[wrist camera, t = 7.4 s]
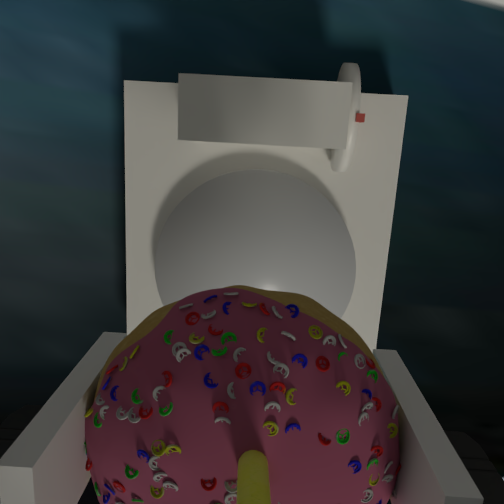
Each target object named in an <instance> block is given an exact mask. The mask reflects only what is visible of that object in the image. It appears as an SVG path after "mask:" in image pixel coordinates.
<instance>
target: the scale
mask: <svg viewBox="0 0 504 504" xmlns="http://www.w3.org/2000/svg"><path fill="white" fill-rule="evenodd" d="M407 102H408V96H405V95H387V94H368V93H361V76H360V69H359V66H358V64H357V63H343V64H342V66H341V69H340V71H339V75H338V79H337V82H334V81H316V80H297V79H278V78H260V77H241V76H223V75H204V74H186V73H179V78H178V83H165V82H147V81H129V80H124V127H125V210H126V293H127V335H128V334H130V333H131V332H132V331H133V330H134V329H135V328H136V327H137V326H138V325H139V324H140V323H141V322H142V321H143V320H144V319H145V318H146V317H147V316H149V315H150V314H151V313H153V312H154V311H156V310H157V309H159V308H161V307H163V306H165V305H168V304H171V303H173V302H176V301H179V300H181V299H183V298H185V297H187V296H189V295H191V294H194V293H197V292H201V291H205V290H210V289H218V288H224V287H228V286H234V285H245V286H250V287H254V288H258V289H264V290H271V291H282V292H291V293H298V294H302V295H305V296H308V297H310V298H312V299H314V300H315V301H317V302H318V303H320V304H321V305H322V306H324V307H325V308H326V309H328V310H329V311H330V312H332V313H333V314H335V315H336V316H337V317H339V318H340V319H342V320H343V321H345V322H346V323H347V324H349V325H350V326H351V327H352V328H353V329H354V330H355V331H356V332H357V333H358V334H359V335H360V337H361V338H362V339H363V340H364V342H365V343H366V344H367V346H368V347H369V349H370V350H371V352H372V353H373V349H376V343H377V335H378V327H379V320H380V312H381V304H382V296H383V289H384V281H385V273H386V265H387V257H388V250H389V242H390V234H391V226H392V219H393V211H394V203H395V195H396V188H397V180H398V172H399V164H400V157H401V149H402V141H403V133H404V126H405V118H406V110H407Z"/></svg>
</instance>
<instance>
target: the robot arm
mask: <svg viewBox="0 0 504 504" xmlns="http://www.w3.org/2000/svg"><path fill="white" fill-rule="evenodd" d="M125 337H126V333H113V332H104V333H103V334H102V335H101V336H100V337H99V339H98V340H97V341H96V342H95V344H94V345H93V346H92V347H91V348H90V350H89V351H88V352H87V353H86V355H85V356H84V357H83V358H82V359H81V361H80V362H79V363H78V364H77V366H76V367H75V368H74V369H73V370H72V372H71V373H70V374H69V375H68V377H67V378H66V379H65V380H64V381H63V383H62V384H61V385H60V386H59V388H58V389H57V390H56V391H55V393H54V394H53V395H52V396H51V397H50V399H49V400H48V401H47V402H46V404H45V405H44V406H42V405H25V406H24V407H22V408H20V409H18V410H17V411H15V412H13V413H12V414H10V415H9V416H8V417H7V418H6V419H5V420H4V421H3V423H2V424H1V425H0V504H77V503H78V501H79V499H80V497H81V495H82V493H83V491H84V489H85V487H86V485H87V483H88V481H89V479H90V477H91V473H90V470H89V471H86V469H85V465H86V461H87V455H86V447H85V446H86V445H85V444H84V442H85V417H84V415H85V413H86V411H87V410H88V409H89V408H90V407H91V406H92V405H93V403H94V398H95V393H96V389H97V385H98V381H99V378H100V375H101V373H102V370H103V368H104V365H105V363H106V361H107V359H108V358H109V356H110V354H111V353H112V351H113V350H114V349H115V347H116V346H117V345H118V344H119V343H120V342H121V341H122V340H123V339H124V338H125ZM373 355H374V357H375V359H376V360H377V362H378V364H379V366H380V368H381V370H382V373H383V375H384V377H385V380H386V381H387V383H388V384H389V386H390V388H391V389H392V392H393V394H394V397H395V400H396V405H399V410H398V423H399V452H400V464H401V468H400V470H399V472H398V475H397V480H396V484H395V487H394V489H395V491H396V493H397V498H396V499H395V497H393V496H394V495H392V494H391V496H390V500H391V503H392V504H504V480H503V479H502V477H501V476H500V474H499V473H497V470H496V469H495V467H494V466H493V464H492V463H491V462H490V461H489V458H488V457H487V455H486V454H485V452H484V451H483V449H482V448H481V446H480V445H479V444H478V443H477V442H475V441H474V440H473V439H472V438H470V437H469V436H468V435H467V434H465V433H464V432H456V431H443V429H442V427H441V426H440V424H439V422H438V420H437V419H436V417H435V415H434V414H433V412H432V410H431V409H430V407H429V405H428V404H427V402H426V400H425V399H424V397H423V395H422V393H421V392H420V390H419V388H418V387H417V385H416V383H415V382H414V380H413V378H412V377H411V375H410V373H409V372H408V370H407V368H406V366H405V365H404V363H403V361H402V360H401V358H400V356H399V355H398V353H397V351H396V350H382V349H373ZM88 467H89V465H88Z"/></svg>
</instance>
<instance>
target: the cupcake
mask: <svg viewBox="0 0 504 504" xmlns="http://www.w3.org/2000/svg"><path fill="white" fill-rule="evenodd" d="M398 410H399V405H396V400H395V397H394V394H393V392H392V389H391V388H390V386H389V384H388V383H387V381H386V380H385V377H384V375H383V373H382V370H381V368H380V366H379V364H378V362H377V360H376V359H375V357H374V355H373V353H372V352H371V350H370V349H369V347H368V346H367V344H366V343H365V342H364V340H363V339H362V338H361V337H360V335H359V334H358V333H357V332H356V331H355V330H354V329H353V328H352V327H351V326H350V325H349V324H347V323H346V322H345V321H343V320H342V319H340V318H339V317H337V316H336V315H335V314H333V313H332V312H330V311H329V310H328V309H326V308H325V307H324V306H322V305H321V304H320V303H318V302H317V301H315V300H314V299H312V298H310V297H308V296H305V295H302V294H298V293H291V292H282V291H271V290H264V289H258V288H254V287H250V286H245V285H234V286H228V287H224V288H218V289H210V290H205V291H201V292H197V293H194V294H191V295H189V296H187V297H185V298H183V299H181V300H179V301H176V302H173V303H171V304H168V305H165V306H163V307H161V308H159V309H157V310H156V311H154V312H153V313H151V314H150V315H149V316H147V317H146V318H145V319H144V320H143V321H142V322H141V323H140V324H139V325H138V326H137V327H136V328H135V329H134V330H133V331H132V332H131V333H130V334H128V335H127V336H126V337H125V338H124V339H123V340H122V341H121V342H120V343H119V344H118V345H117V346H116V347H115V349H114V350H113V351H112V353H111V354H110V356H109V358H108V359H107V361H106V363H105V365H104V368H103V370H102V373H101V375H100V378H99V381H98V385H97V389H96V393H95V398H94V403H93V405H92V406H91V407H90V408H89V409H88V410H87V411H86V413H85V415H84V417H85V442H84V444H85V445H86V446H85V447H86V455H87V461H86V465H85V469H86V471H89V470H90V473H91V477H92V481H93V484H94V488H95V491H96V494H97V497H98V500H99V502H100V504H387V502H388V500H389V498H390V496H391V494H392V495H394V496H393V497H395V499H396V498H397V493H396V491H395V489H394V487H395V484H396V480H397V475H398V472H399V470H400V468H401V464H400V452H399V423H398ZM88 465H89V467H88Z"/></svg>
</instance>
